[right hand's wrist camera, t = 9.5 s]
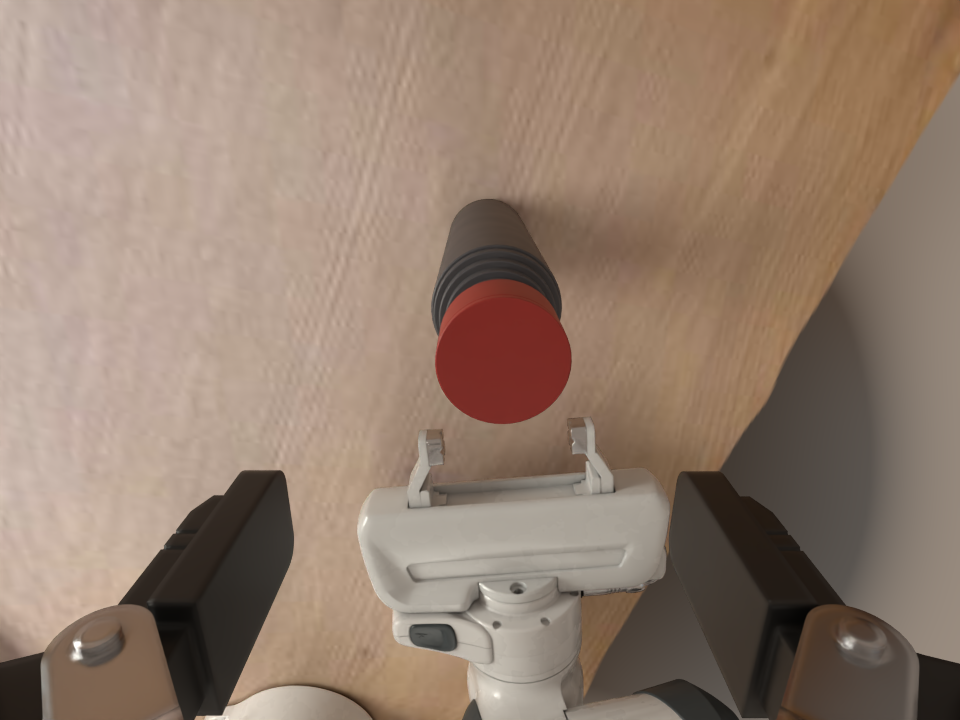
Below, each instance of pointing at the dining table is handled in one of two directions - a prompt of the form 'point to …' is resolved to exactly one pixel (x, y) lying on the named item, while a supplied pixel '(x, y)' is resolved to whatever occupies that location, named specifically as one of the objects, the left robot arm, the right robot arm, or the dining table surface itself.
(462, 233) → the bottle
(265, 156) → the dining table surface
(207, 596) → the right robot arm
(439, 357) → the cap
